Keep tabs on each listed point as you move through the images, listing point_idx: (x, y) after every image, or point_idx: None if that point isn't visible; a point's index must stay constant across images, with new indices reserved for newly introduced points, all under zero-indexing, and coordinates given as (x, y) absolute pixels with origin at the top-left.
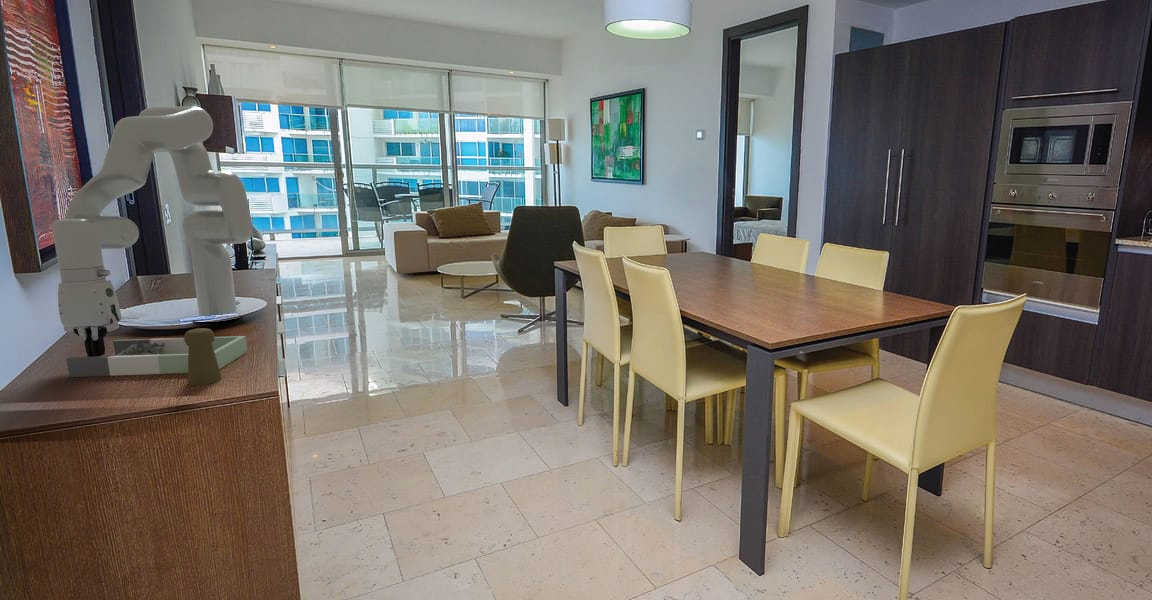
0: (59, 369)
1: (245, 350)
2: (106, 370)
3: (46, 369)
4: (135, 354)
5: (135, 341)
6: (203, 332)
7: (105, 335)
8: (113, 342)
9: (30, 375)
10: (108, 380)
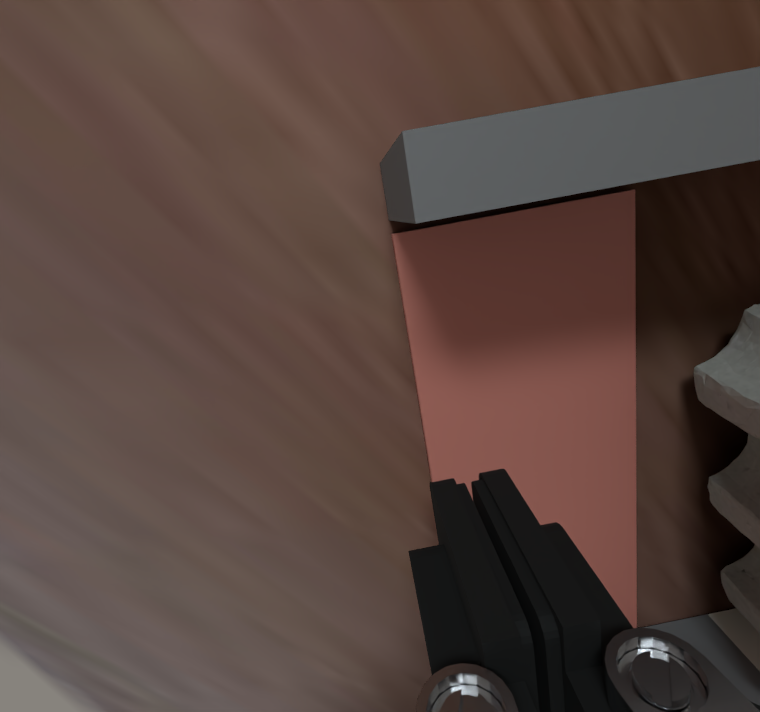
0: (217, 574)
1: None
2: None
3: (109, 585)
4: (749, 366)
5: (733, 161)
6: None
7: (701, 665)
8: (413, 220)
9: (153, 695)
10: None
